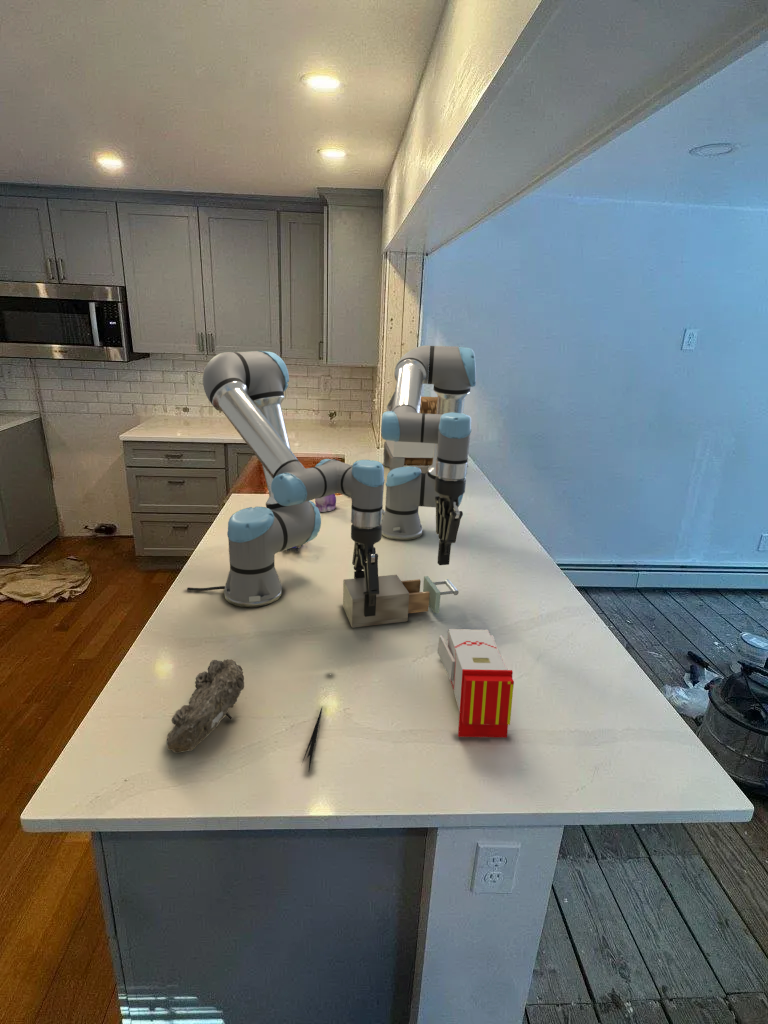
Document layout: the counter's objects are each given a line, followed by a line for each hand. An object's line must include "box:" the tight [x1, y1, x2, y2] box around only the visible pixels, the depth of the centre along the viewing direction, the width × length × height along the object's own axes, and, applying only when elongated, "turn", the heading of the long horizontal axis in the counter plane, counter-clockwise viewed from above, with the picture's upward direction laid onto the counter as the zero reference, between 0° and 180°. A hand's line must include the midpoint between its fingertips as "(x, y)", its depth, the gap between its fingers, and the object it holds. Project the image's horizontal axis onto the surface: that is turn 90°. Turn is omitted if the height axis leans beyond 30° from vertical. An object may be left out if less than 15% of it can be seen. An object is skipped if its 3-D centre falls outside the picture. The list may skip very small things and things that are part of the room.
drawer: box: [401, 575, 460, 614], centre depth 149 cm, size 19×10×6 cm, turn 106°
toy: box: [437, 628, 515, 738], centre depth 117 cm, size 12×13×30 cm
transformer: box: [382, 391, 438, 472], centre depth 268 cm, size 34×33×41 cm
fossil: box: [166, 658, 245, 754], centre depth 106 cm, size 22×10×15 cm
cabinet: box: [342, 574, 409, 629], centre depth 146 cm, size 14×11×8 cm
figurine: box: [314, 493, 337, 513], centre depth 218 cm, size 9×10×15 cm
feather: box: [301, 673, 332, 771], centre depth 108 cm, size 2×28×2 cm
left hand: (364, 604), depth 145 cm, fingers closed on cabinet, 11 cm apart
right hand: (443, 563), depth 148 cm, fingers closed
